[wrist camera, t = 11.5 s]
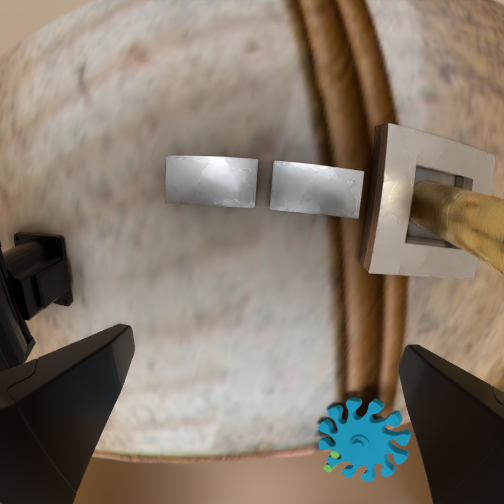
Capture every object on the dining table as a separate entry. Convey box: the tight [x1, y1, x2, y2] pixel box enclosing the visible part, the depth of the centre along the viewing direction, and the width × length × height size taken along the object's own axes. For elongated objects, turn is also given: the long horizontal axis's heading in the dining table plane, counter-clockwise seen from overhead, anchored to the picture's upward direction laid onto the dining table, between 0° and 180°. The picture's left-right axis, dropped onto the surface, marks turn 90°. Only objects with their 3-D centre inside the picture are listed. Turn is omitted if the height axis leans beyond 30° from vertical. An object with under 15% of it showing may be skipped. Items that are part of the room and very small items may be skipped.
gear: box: [318, 397, 411, 481], centre depth 25 cm, size 11×6×10 cm
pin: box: [409, 181, 504, 274], centre depth 14 cm, size 4×4×12 cm
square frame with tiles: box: [165, 123, 495, 279], centre depth 19 cm, size 38×10×2 cm, turn 86°
